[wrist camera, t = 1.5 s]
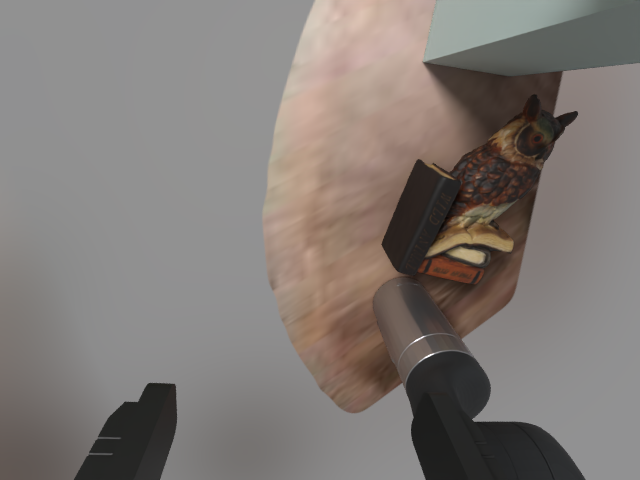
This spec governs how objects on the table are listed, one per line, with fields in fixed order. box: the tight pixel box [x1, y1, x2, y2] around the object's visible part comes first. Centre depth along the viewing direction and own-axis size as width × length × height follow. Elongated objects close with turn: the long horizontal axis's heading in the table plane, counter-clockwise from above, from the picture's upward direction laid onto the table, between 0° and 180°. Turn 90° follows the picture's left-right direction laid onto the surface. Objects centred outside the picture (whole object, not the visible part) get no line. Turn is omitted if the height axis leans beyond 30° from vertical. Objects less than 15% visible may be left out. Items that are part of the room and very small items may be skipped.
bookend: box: [382, 95, 578, 284], centre depth 44 cm, size 15×11×25 cm
